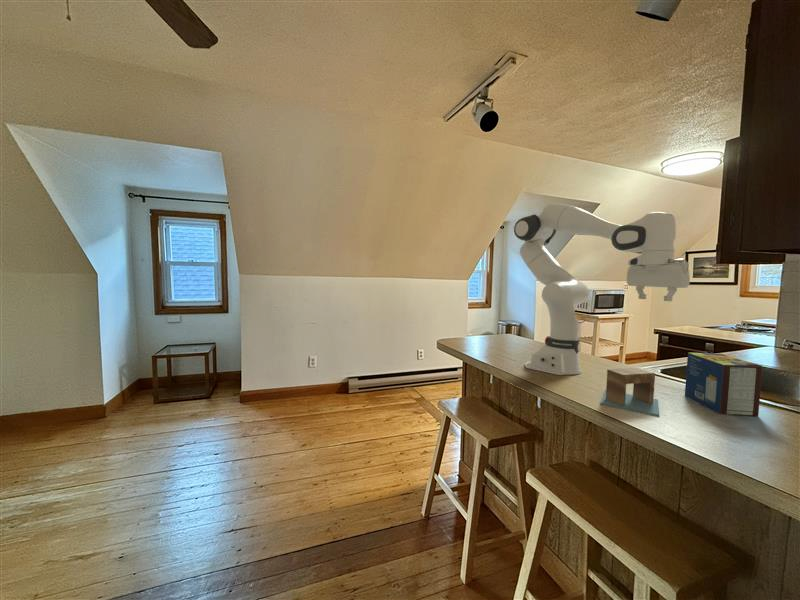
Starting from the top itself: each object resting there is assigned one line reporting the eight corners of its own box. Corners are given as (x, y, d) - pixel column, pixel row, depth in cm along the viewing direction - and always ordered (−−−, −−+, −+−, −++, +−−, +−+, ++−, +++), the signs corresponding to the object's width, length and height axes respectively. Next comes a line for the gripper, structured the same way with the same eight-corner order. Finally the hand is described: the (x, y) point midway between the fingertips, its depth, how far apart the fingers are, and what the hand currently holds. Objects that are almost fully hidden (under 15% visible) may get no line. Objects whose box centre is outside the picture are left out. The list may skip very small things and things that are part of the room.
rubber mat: (600, 404, 106) (600, 402, 106) (604, 391, 118) (604, 389, 118) (659, 416, 97) (659, 414, 97) (657, 401, 109) (657, 399, 109)
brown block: (622, 374, 102) (655, 372, 105) (607, 369, 108) (638, 367, 110) (620, 405, 103) (653, 403, 105) (605, 398, 109) (636, 396, 111)
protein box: (717, 397, 112) (721, 353, 111) (759, 417, 97) (764, 365, 96) (683, 395, 114) (686, 352, 113) (719, 414, 99) (723, 364, 98)
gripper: (697, 258, 103) (693, 302, 104) (638, 261, 123) (636, 297, 124) (680, 258, 102) (677, 302, 103) (624, 260, 122) (622, 298, 123)
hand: (654, 300), depth 114 cm, fingers open, 8 cm apart
